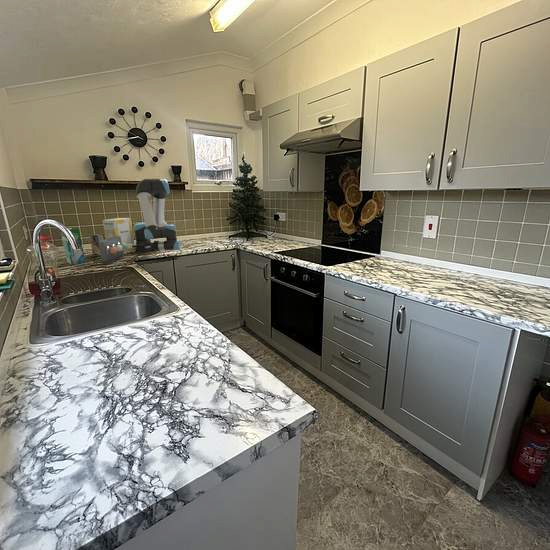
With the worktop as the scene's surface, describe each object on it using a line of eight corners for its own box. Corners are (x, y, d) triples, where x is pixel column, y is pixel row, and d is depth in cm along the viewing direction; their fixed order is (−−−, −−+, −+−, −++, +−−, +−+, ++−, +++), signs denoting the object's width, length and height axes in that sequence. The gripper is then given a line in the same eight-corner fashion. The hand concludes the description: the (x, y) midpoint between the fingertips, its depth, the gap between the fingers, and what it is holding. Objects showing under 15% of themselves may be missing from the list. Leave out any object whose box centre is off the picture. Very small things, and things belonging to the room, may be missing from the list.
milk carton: (81, 260, 223) (74, 227, 216) (85, 262, 217) (78, 228, 210) (67, 263, 216) (59, 228, 209) (71, 264, 210) (63, 229, 203)
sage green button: (127, 248, 230) (126, 242, 229) (125, 249, 226) (124, 243, 225) (123, 248, 230) (123, 242, 229) (121, 249, 226) (120, 243, 225)
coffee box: (107, 254, 245) (104, 234, 240) (101, 255, 239) (97, 235, 234) (99, 253, 247) (95, 234, 243) (92, 255, 241) (88, 235, 237)
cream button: (122, 250, 222) (121, 244, 221) (120, 251, 218) (119, 245, 217) (118, 250, 222) (117, 244, 221) (115, 251, 218) (114, 245, 217)
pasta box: (119, 256, 236) (113, 220, 228) (108, 255, 239) (102, 220, 231) (135, 251, 253) (130, 218, 245) (125, 250, 256) (120, 218, 248)
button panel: (124, 256, 234) (120, 236, 229) (108, 264, 211) (104, 241, 206) (113, 256, 234) (110, 236, 229) (96, 264, 211) (92, 241, 206)
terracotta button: (117, 252, 215) (116, 246, 213) (114, 254, 211) (113, 247, 209) (113, 252, 215) (112, 246, 213) (110, 254, 210) (109, 248, 209)
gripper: (161, 239, 233) (131, 239, 232) (155, 242, 220) (123, 242, 220) (163, 248, 235) (133, 249, 235) (157, 252, 222) (125, 252, 222)
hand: (128, 246), depth 227 cm, fingers closed
